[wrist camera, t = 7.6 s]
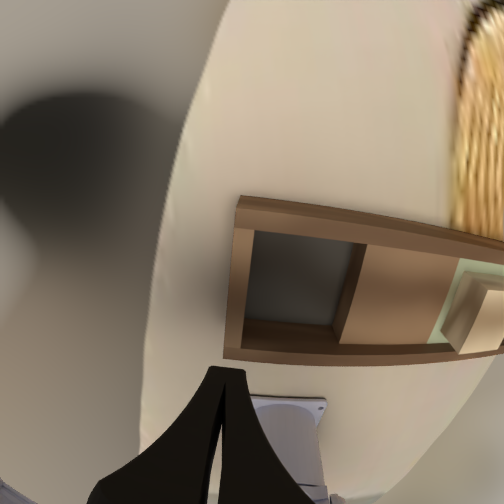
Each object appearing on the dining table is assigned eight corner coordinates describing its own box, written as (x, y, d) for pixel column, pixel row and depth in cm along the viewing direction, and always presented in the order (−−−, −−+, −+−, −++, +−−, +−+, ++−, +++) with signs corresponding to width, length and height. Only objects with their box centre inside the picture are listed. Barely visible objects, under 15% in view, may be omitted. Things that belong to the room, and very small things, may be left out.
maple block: (479, 329, 18) (497, 349, 15) (439, 330, 18) (458, 354, 15) (501, 275, 16) (524, 292, 13) (463, 270, 16) (487, 289, 13)
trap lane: (502, 331, 21) (520, 350, 18) (228, 325, 21) (222, 358, 17) (534, 250, 18) (557, 264, 14) (240, 195, 17) (236, 207, 14)
